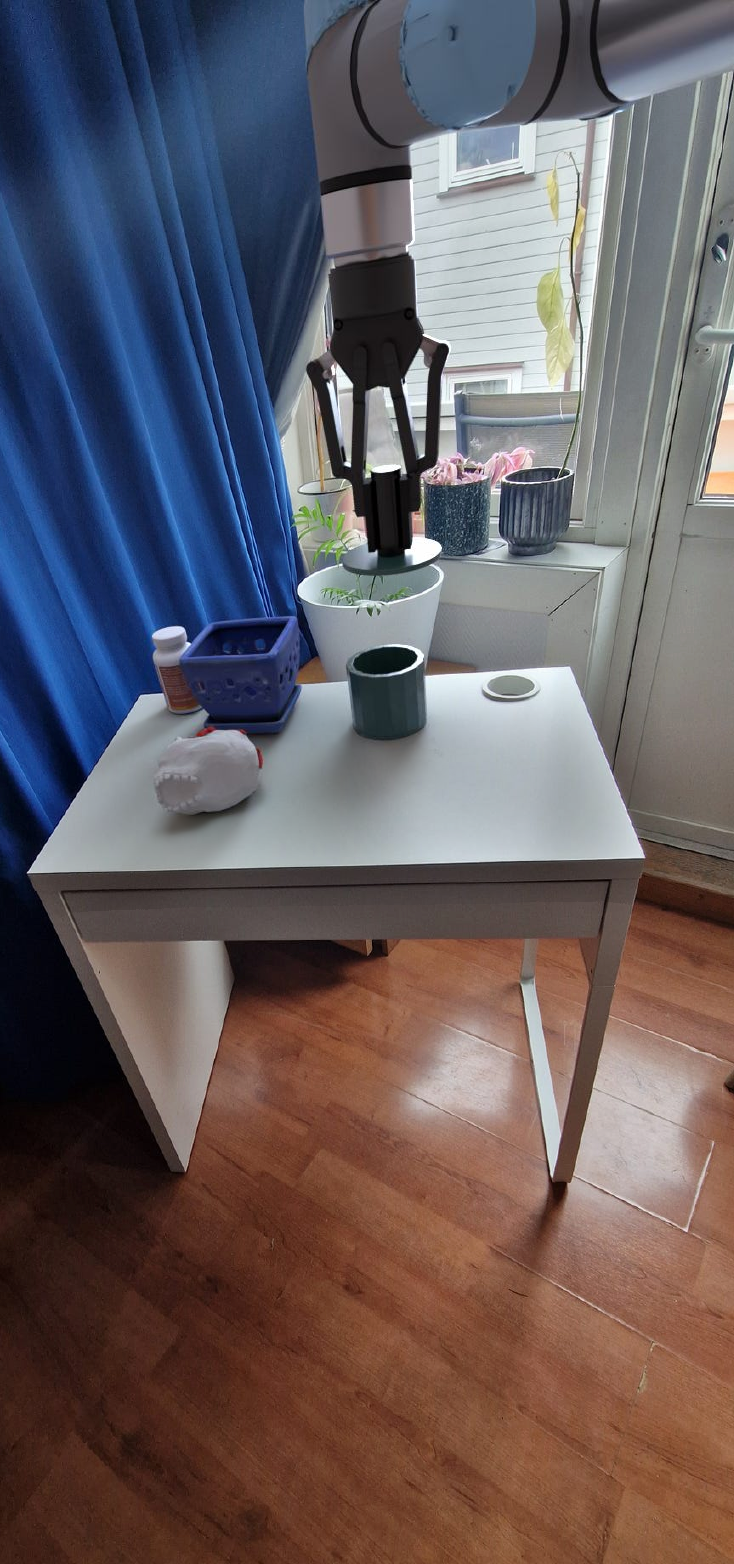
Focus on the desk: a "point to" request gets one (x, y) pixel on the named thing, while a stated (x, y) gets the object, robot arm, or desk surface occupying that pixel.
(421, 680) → the pot
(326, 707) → the desk surface
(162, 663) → the pill bottle
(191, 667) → the flower pot
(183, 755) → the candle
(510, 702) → the desk surface
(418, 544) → the lid
